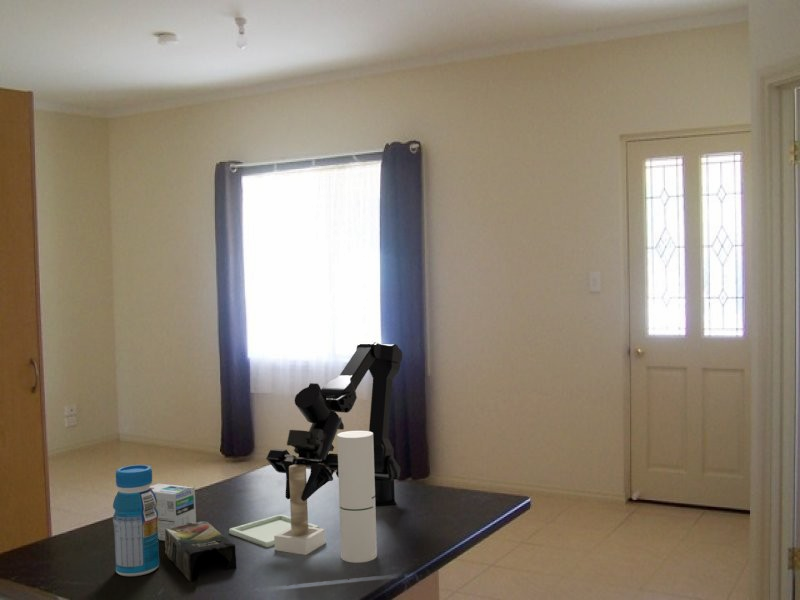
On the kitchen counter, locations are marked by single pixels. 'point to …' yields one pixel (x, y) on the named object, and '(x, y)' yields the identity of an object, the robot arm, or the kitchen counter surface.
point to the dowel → (298, 500)
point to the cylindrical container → (357, 496)
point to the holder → (300, 541)
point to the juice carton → (196, 545)
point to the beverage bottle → (135, 522)
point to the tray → (264, 529)
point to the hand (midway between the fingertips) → (294, 499)
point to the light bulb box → (174, 506)
